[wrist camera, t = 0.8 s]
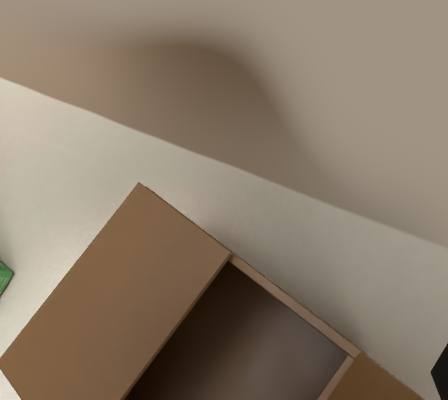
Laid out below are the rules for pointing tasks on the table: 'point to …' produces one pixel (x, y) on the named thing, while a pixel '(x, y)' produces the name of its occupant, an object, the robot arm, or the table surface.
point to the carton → (171, 322)
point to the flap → (370, 383)
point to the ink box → (4, 276)
